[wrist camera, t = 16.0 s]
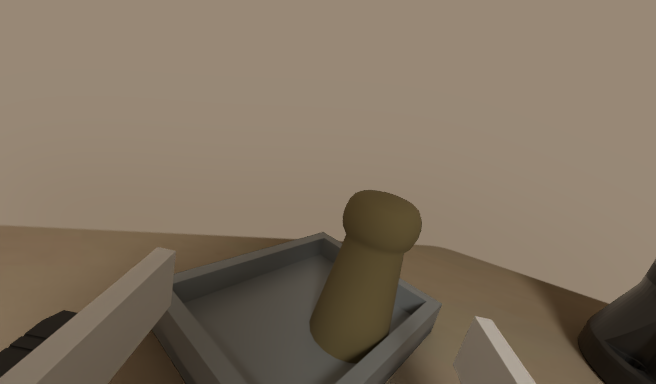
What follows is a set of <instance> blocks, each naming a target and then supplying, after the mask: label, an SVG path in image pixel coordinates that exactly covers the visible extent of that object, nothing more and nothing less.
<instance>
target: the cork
mask: <svg viewBox="0 0 656 384" xmlns="http://www.w3.org/2000/svg"><path fill="white" fill-rule="evenodd" d="M343 227H344V229H345V232H346V236H345V239H344V241H343V243H342V246H341V248H340V250H339V253H338V255H337V257H336V260H335V262H334V264H333V267H332V269H331V271H330V274H329V276H328V278H327V281H326V283H325V285H324V288H323V290H322V292H321V295H320V297H319V299H318V302H317V304H316V306H315V309H314V311H313V313H312V316H311V319H310V321H309V324H310V332H311V334H312V336H313V338H314V340H315V342H316V343H317V344H318V345H319V346H320V347H321V348H322V349H323V350H324V351H325V352H327V353H328V354H330V355H331V356H333V357H334V358H336V359H339V360H342V361H345V362H348V363H355V364H357V363H359V362H360V361H361V360H362V359H363V358H364V357H365V356H366V355H367V354H369V353H370V352H371V351H372V350H373V349H374V348H375V347H376V346H377V345H379V344H380V343H381V342H382V341H383V340H384V339H385V338H386V337H388V336H389V330H390V325H391V319H392V314H393V309H394V303H395V298H396V293H397V287H398V282H399V277H400V271H401V266H402V261H403V255H404V253H405V252H407V251H409V250H410V249H411V248H412V247H413V245H414V244H415V242H416V241H417V239H418V238H419V235H420V232H421V227H422V221H421V217H420V213H419V210H417V208H416V207H415V206H414V205H413V204H412V203H410V202H408V201H407V200H405V199H403V198H401V197H398V196H396V195H393V194H390V193H386V192H381V191H375V190H364V191H360V192H357V193H355V194H354V195H353V196H352V197H351V198H350V200H349V202H348V203H347V205H346V207H345V210H344V214H343Z"/></svg>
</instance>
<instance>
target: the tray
mask: <svg viewBox="0 0 656 384" xmlns="http://www.w3.org/2000/svg"><path fill="white" fill-rule="evenodd" d="M341 246H342V243H341V242H339V241H337V240H336V239H334V238H332V237H331V236H329V235H327V234H326V233H324V232H322V233H318V234H315V235H312V236H307V237H304V238H300V239H297V240H293V241H290V242H286V243H283V244H279V245H275V246H272V247H268V248H265V249H261V250H258V251H254V252H251V253H247V254H243V255H240V256H236V257H233V258H229V259H226V260H222V261H218V262H215V263H211V264H208V265H204V266H201V267H197V268H194V269H190V270H186V271H183V272H179V273H176V274H174V277H173V288H172V299H171V306H170V307H169V308H168V309H167V311H166V312H165V313H164V314H163V316H162V317H161V318H160V319H159V320H158V322H157V323H156V324H155V325H154V327H153V328H152V331H153V332H154V334H155V336H156V337H157V339H158V340H159V342H160V343H161V345H162V347H163V348H164V350H165V351H166V353H167V354H168V356H169V358H170V359H171V361H172V362H173V364H174V365H175V367H176V369H177V370H178V372H179V373H180V375H181V376H182V378H183V380H184V381H185V383H186V384H384V383H385V382H386V381H387V380H388V379H389V378H390V377H391V376H392V375H393V373H394V372H395V371H396V370H397V369H398V368H399V367H400V366H401V365H402V363H403V362H404V361H405V360H406V359H407V358H408V357H409V356H410V354H411V353H412V352H413V351H414V350H415V349H416V348H417V347H418V346H419V344H420V343H421V342H422V341H423V340H424V339H425V338H426V337H427V335H428V334H429V333H430V332H431V330H432V328H433V325H434V323H435V320H436V318H437V315H438V313H439V310H440V308H441V305H442V303H440V302H438V301H437V300H435V299H433V298H432V297H430V296H428V295H427V294H425V293H423V292H422V291H420V290H418V289H417V288H415V287H413V286H412V285H410V284H408V283H407V282H405V281H403V280H402V279H400V278H399V282H398V287H397V293H396V298H395V303H394V309H393V314H392V319H391V325H390V330H389V336H388V337H386V338H385V339H384V340H383V341H382V342H381V343H380V344H379V345H377V346H376V347H375V348H374V349H373V350H372V351H371V352H370V353H369V354H367V355H366V356H365V357H364V358H363V359H362V360H361V361H360V362H359V363H357V364H355V363H348V362H345V361H342V360H339V359H336V358H334V357H333V356H331V355H330V354H328V353H327V352H325V351H324V350H323V349H322V348H321V347H320V346H319V345H318V344H317V343H316V342H315V340H314V338H313V336H312V334H311V332H310V324H309V321H310V319H311V316H312V313H313V311H314V309H315V306H316V304H317V302H318V299H319V297H320V295H321V292H322V290H323V288H324V285H325V283H326V281H327V278H328V276H329V274H330V271H331V269H332V267H333V264H334V262H335V260H336V257H337V255H338V253H339V250H340V248H341Z"/></svg>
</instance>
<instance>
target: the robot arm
mask: <svg viewBox="0 0 656 384" xmlns="http://www.w3.org/2000/svg"><path fill="white" fill-rule="evenodd" d="M175 255H176V251H174V250H169V249H164V248H160V247H157V248H156V249H155V250H154V251H152V252H151V253H150V254H149V255H148V256H146V257H145V258H144V259H143V260H141V261H140V262H139V263H138V264H137V265H135V266H134V267H133V268H132V269H131V270H129V271H128V272H127V273H126V274H125V275H123V276H122V277H121V278H120V279H119V280H117V281H116V282H115V283H114V284H113V285H111V286H110V287H109V288H108V289H107V290H105V291H104V292H103V293H102V294H101V295H99V296H98V297H97V298H96V299H94V300H93V301H92V302H91V303H90V304H88V305H87V306H86V307H85V308H84V309H82V310H81V311H80V312H79V313H75V312H70V311H65V310H64V311H61V312H59V313H57V314H55V315H53V316H51V317H49V318H46V319H44V320H42V321H41V322H40V323H38V324H37V325H36V326H34V327H33V328H32V329H30V330H29V331H28V332H26V333H25V335H24V336H23V337H22V336H21V337H20V338H18V339H17V340H16V341H14V342H13V343H12V344H10V346H9V347H8V348H5V349H4V350H2V351H1V352H0V384H108V383H109V381H110V380H111V379H112V378H113V376H114V375H115V374H116V373H117V372H118V370H119V369H120V368H121V367H122V365H123V364H124V363H125V362H126V360H127V359H128V358H129V357H130V355H131V354H132V353H133V352H134V350H135V349H136V348H137V347H138V345H139V344H140V343H141V342H142V340H143V339H144V338H145V337H146V335H147V334H148V333H149V332H150V330H151V329H152V328H153V327H154V325H155V324H156V323H157V322H158V320H159V319H160V318H161V317H162V316H163V314H164V313H165V312H166V311H167V309H168V308H169V307H170V306H171V299H172V288H173V277H174V266H175ZM578 343H579V347H580V349H581V351H582V353H583V355H584V357H585V358H586V360H587V361H588V362H589V364H590V365H591V366H592V368H593V369H594V370H595V371H596V372H597V373H598V375H599V376H600V377H601V378H602V379H603V380H604V381H605V382H606V383H607V384H656V259H655V261H654V263H653V264H652V266H651V268H650V269H649V270H648V272H647V274H646V275H645V277H644V278H643V280H642V281H641V282H640V283H639V284H638V285H636V286H635V287H633V288H632V289H631V290H629V291H628V292H626V293H625V294H623V295H622V296H620V297H619V298H618V299H616V300H615V301H613V302H612V303H610V304H609V305H607V306H606V307H605V308H603V309H602V310H600V311H599V312H597V313H596V314H594V315H593V316H592V317H591V318H590V319H589V320H588V321H587V323H586V325H585V326H584V328H583V330H582V331H581V333H580V335H579V337H578ZM453 366H454V368H455V370H456V373H457V375H458V377H459V380H460V382H461V384H536V383H535V382H534V380H533V379H532V377H531V376H530V374H529V373H528V372H527V370H526V369H525V367H524V366H523V364H522V363H521V361H520V360H519V359H518V357H517V356H516V354H515V353H514V351H513V350H512V349H511V347H510V346H509V344H508V343H507V341H506V340H505V338H504V337H503V336H502V334H501V333H500V331H499V330H498V328H497V327H496V326H495V324H494V323H493V321H492V320H491V319H486V318H481V317H477V316H474V319H473V321H472V323H471V325H470V328H469V330H468V332H467V334H466V336H465V339H464V341H463V343H462V345H461V347H460V350H459V352H458V354H457V356H456V358H455V361H454V363H453Z"/></svg>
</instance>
